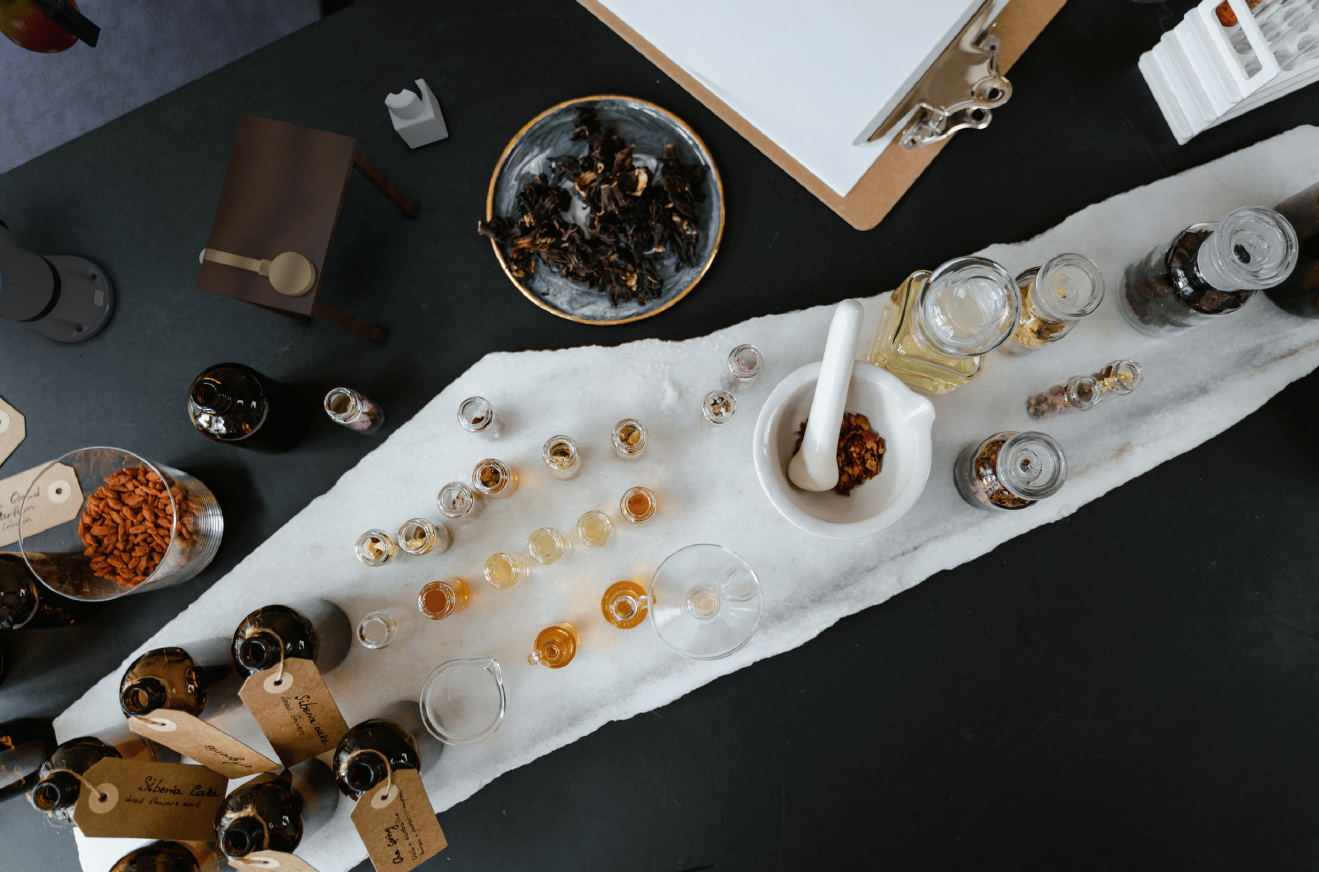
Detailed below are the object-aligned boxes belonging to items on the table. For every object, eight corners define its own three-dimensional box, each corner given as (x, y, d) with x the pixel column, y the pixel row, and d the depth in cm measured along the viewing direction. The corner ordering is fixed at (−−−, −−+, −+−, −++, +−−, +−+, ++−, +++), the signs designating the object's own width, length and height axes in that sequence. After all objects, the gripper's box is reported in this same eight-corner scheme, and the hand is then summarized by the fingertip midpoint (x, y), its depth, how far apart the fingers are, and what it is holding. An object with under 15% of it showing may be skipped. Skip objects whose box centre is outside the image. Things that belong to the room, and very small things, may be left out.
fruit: (70, 78, 88) (10, 39, 80) (15, 44, 89) (-51, 2, 81) (109, 17, 88) (53, -27, 80) (54, -16, 89) (-7, -64, 81)
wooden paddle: (205, 276, 94) (199, 273, 92) (216, 235, 94) (210, 232, 93) (309, 300, 93) (304, 298, 92) (320, 259, 93) (315, 256, 92)
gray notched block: (400, 112, 119) (368, 73, 107) (438, 100, 118) (410, 59, 106) (411, 149, 118) (381, 114, 106) (449, 137, 118) (423, 100, 106)
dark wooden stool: (293, 323, 118) (194, 288, 94) (330, 183, 118) (241, 112, 94) (385, 345, 117) (309, 315, 93) (421, 204, 118) (355, 137, 94)
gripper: (-36, -133, 66) (145, 20, 88) (-241, -177, 66) (-9, -15, 89) (-57, -61, 65) (130, 74, 88) (-262, -107, 66) (-24, 39, 88)
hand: (60, 29), depth 88 cm, fingers closed on fruit, 9 cm apart
